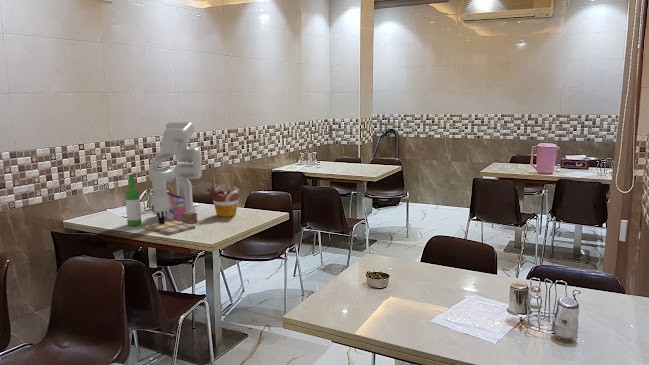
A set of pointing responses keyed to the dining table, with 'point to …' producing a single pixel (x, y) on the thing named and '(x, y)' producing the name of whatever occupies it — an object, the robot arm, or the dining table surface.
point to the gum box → (176, 207)
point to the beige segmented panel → (162, 225)
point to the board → (177, 228)
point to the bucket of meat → (224, 201)
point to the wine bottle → (133, 203)
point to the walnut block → (189, 217)
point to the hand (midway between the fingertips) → (161, 223)
